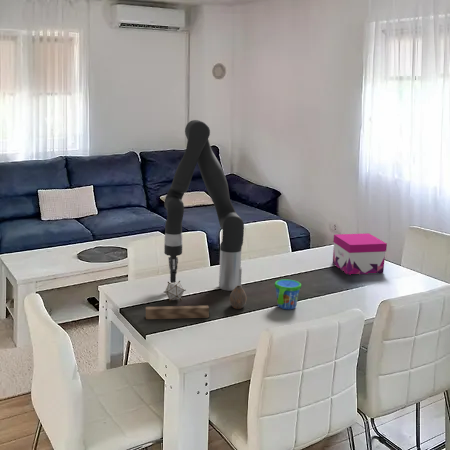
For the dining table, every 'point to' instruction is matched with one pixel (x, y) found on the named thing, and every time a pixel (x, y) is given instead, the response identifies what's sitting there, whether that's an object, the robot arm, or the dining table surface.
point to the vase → (238, 298)
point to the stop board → (177, 312)
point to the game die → (174, 291)
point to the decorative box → (359, 253)
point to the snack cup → (287, 293)
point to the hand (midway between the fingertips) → (172, 282)
